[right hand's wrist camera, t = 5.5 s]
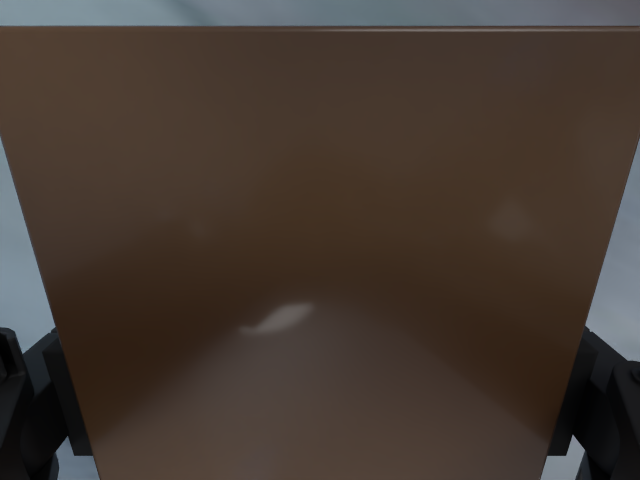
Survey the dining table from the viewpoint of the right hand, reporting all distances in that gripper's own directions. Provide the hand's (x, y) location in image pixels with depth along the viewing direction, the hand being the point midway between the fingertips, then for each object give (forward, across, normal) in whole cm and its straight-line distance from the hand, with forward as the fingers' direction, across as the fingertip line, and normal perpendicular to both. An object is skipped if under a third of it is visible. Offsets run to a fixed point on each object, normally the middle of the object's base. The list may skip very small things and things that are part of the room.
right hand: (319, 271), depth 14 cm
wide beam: (+1, 0, -24) cm, 24 cm away
